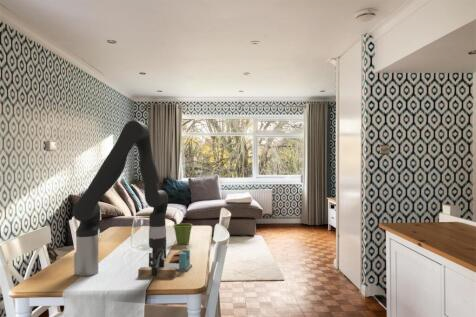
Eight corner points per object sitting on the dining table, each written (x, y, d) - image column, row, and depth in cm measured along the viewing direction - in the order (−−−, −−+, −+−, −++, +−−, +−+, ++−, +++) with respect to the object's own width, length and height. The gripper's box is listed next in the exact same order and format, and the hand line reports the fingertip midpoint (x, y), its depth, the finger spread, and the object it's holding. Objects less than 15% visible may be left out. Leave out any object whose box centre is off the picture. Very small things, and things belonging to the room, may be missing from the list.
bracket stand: (149, 269, 168) (149, 252, 168) (156, 264, 176) (156, 248, 176) (187, 271, 166) (186, 254, 166) (192, 266, 173) (192, 249, 173)
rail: (138, 277, 158) (138, 269, 158) (140, 275, 162) (140, 267, 162) (174, 278, 157) (174, 270, 157) (176, 275, 161) (176, 267, 161)
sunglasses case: (172, 254, 195) (179, 243, 195) (184, 260, 195) (190, 250, 195) (167, 264, 177) (174, 252, 177) (180, 271, 177) (187, 259, 177)
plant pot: (194, 241, 225) (194, 223, 225) (190, 245, 213) (190, 226, 213) (176, 240, 226) (175, 222, 226) (170, 245, 215) (170, 226, 215)
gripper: (155, 232, 167) (156, 267, 167) (142, 239, 153) (143, 277, 153) (171, 232, 166) (171, 268, 166) (159, 239, 152) (160, 278, 152)
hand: (158, 272), depth 160 cm, fingers open, 8 cm apart
